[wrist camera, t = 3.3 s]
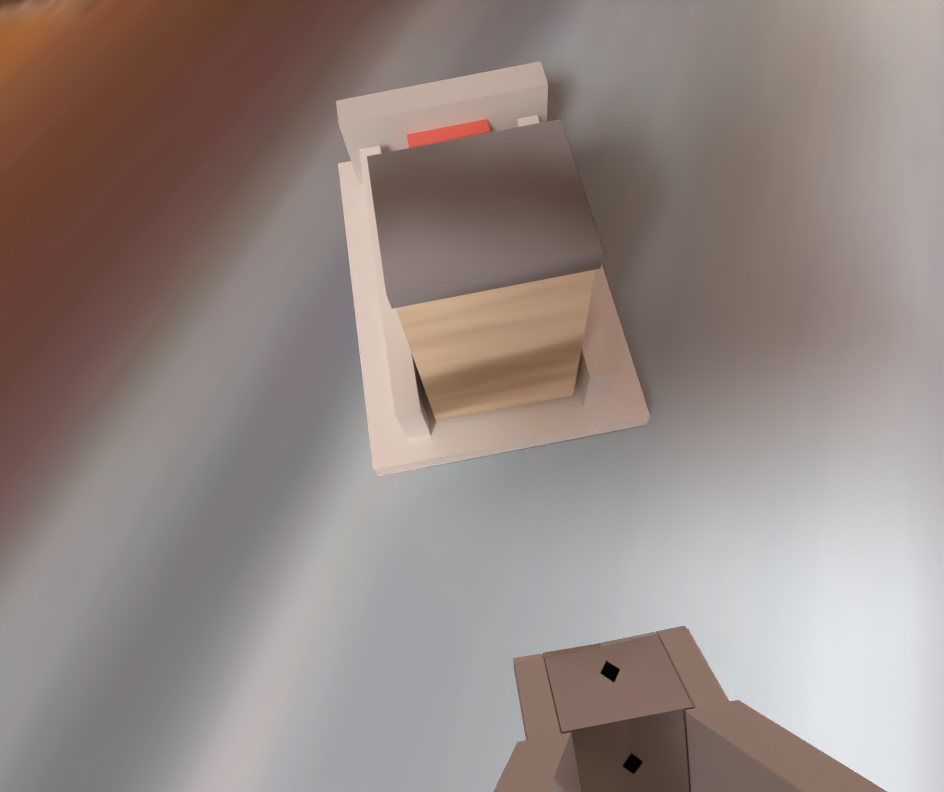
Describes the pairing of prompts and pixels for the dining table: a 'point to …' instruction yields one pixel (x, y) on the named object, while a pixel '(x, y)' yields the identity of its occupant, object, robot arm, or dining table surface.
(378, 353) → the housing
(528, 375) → the light wood tall block
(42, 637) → the dining table surface
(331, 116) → the dining table surface
